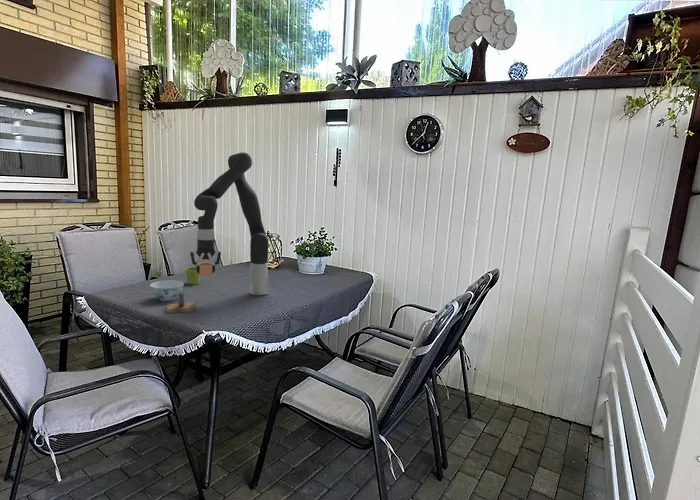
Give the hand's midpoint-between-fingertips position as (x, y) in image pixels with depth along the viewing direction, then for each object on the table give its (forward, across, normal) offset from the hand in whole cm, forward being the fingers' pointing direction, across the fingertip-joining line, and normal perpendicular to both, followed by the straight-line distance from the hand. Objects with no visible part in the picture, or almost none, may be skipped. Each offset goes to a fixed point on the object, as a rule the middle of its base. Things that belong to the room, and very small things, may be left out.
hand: (205, 272), depth 184 cm
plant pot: (+16, +6, -41) cm, 45 cm away
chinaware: (+16, +18, -12) cm, 27 cm away
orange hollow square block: (0, 0, 0) cm, 0 cm away
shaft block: (+16, +11, +6) cm, 20 cm away
